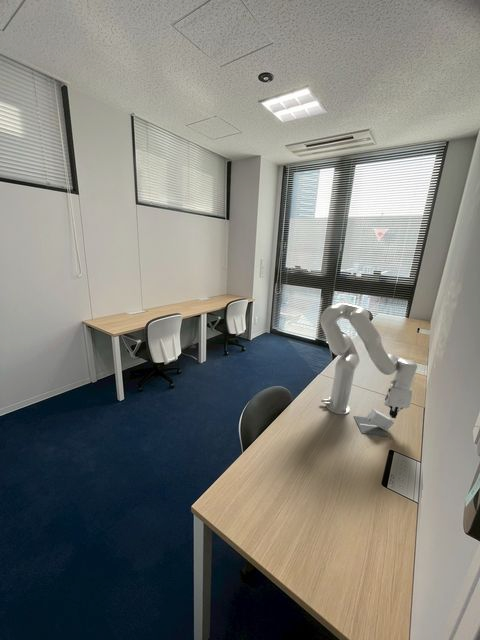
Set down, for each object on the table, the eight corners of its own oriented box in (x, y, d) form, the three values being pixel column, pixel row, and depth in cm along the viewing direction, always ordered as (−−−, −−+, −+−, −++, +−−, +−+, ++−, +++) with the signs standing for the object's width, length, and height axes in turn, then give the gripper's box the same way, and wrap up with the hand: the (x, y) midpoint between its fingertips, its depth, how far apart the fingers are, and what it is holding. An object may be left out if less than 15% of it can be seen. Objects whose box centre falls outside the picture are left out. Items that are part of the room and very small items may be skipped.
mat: (361, 433, 129) (361, 432, 128) (353, 416, 141) (353, 415, 141) (386, 436, 128) (387, 435, 127) (376, 419, 140) (376, 418, 140)
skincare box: (389, 417, 134) (372, 407, 131) (395, 423, 130) (378, 412, 127) (381, 426, 135) (364, 416, 132) (386, 432, 131) (369, 422, 128)
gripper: (389, 386, 123) (380, 419, 128) (422, 390, 122) (411, 423, 127) (382, 378, 130) (374, 409, 136) (413, 382, 129) (404, 413, 134)
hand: (392, 416), depth 131 cm, fingers closed
